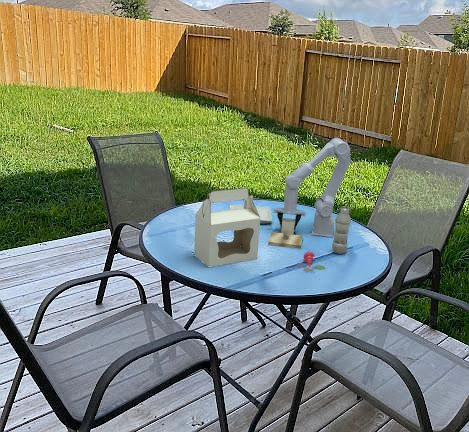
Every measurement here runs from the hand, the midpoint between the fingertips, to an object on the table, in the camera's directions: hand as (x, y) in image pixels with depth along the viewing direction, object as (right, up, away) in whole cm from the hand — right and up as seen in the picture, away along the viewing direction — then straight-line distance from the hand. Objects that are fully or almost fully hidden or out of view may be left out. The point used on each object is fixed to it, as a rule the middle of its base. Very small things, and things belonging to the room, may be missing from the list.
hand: (287, 229), depth 223 cm
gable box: (-28, -11, -30) cm, 42 cm away
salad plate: (-17, +5, +18) cm, 25 cm away
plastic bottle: (+19, -10, -19) cm, 29 cm away
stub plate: (-2, -5, -11) cm, 12 cm away
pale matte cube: (0, -2, +1) cm, 2 cm away
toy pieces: (+5, -14, -33) cm, 36 cm away
